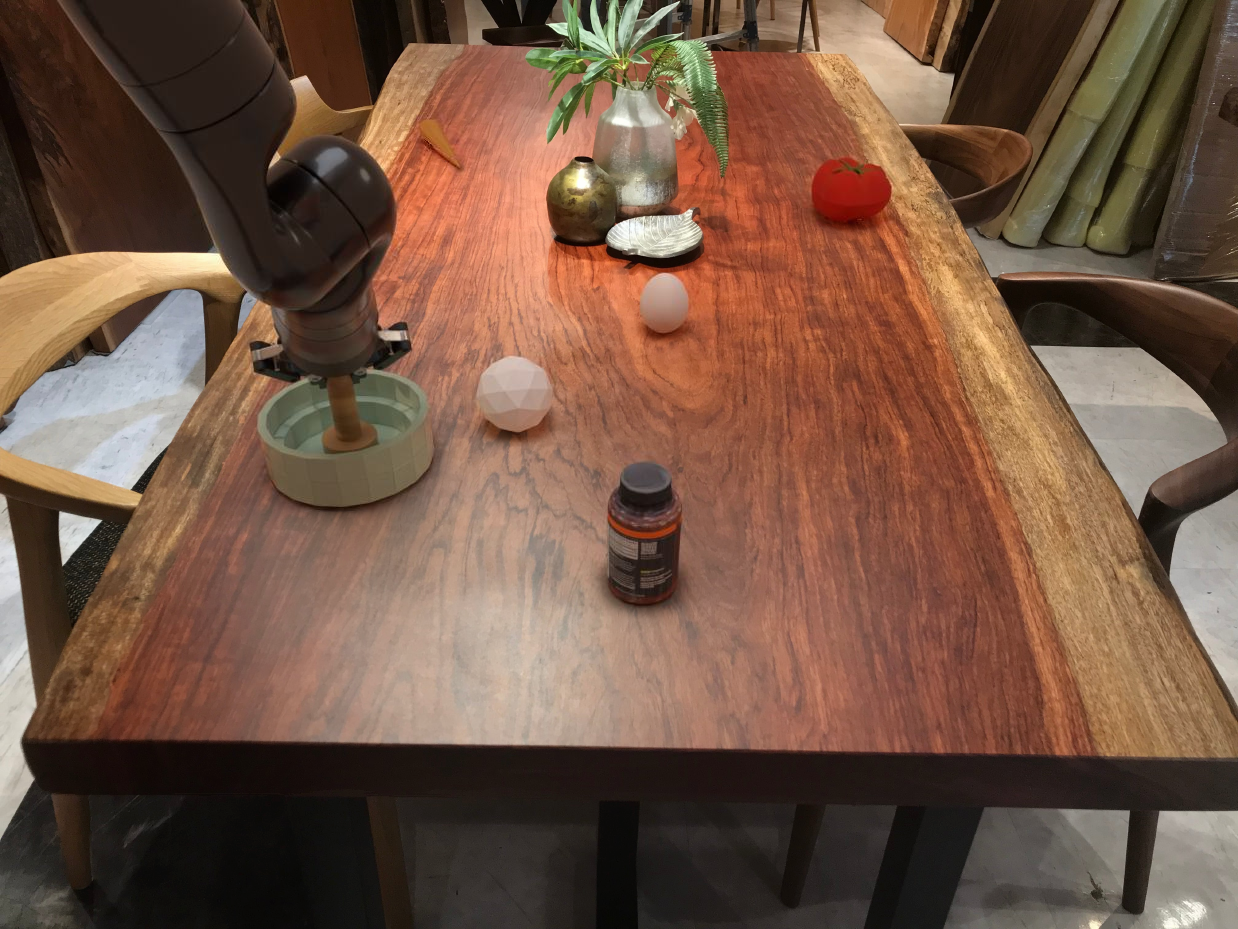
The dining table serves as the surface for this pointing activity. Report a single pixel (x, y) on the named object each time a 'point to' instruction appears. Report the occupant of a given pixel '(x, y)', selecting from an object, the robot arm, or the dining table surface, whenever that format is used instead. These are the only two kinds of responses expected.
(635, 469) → the supplement bottle
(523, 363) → the geometric ball
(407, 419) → the bowl
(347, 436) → the wooden peg on base
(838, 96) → the dining table surface
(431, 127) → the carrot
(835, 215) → the tomato
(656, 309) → the egg
